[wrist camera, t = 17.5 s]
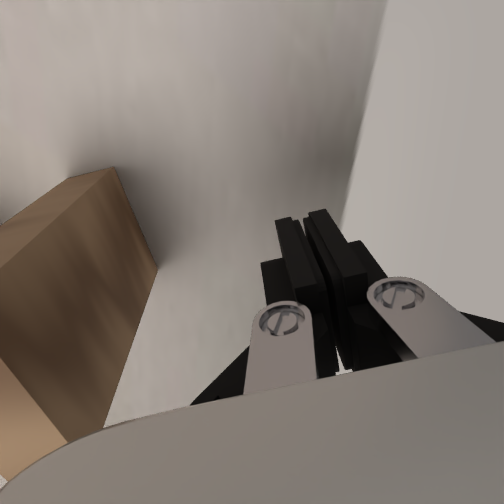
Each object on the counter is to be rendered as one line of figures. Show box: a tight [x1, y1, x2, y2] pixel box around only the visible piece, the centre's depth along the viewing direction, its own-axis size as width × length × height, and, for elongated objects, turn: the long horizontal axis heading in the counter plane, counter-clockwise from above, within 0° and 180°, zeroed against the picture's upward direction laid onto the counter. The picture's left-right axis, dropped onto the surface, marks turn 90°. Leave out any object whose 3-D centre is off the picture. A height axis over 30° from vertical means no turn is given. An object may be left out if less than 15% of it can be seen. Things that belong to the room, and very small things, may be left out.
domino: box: [0, 167, 158, 481], centre depth 14 cm, size 6×2×11 cm, turn 13°
